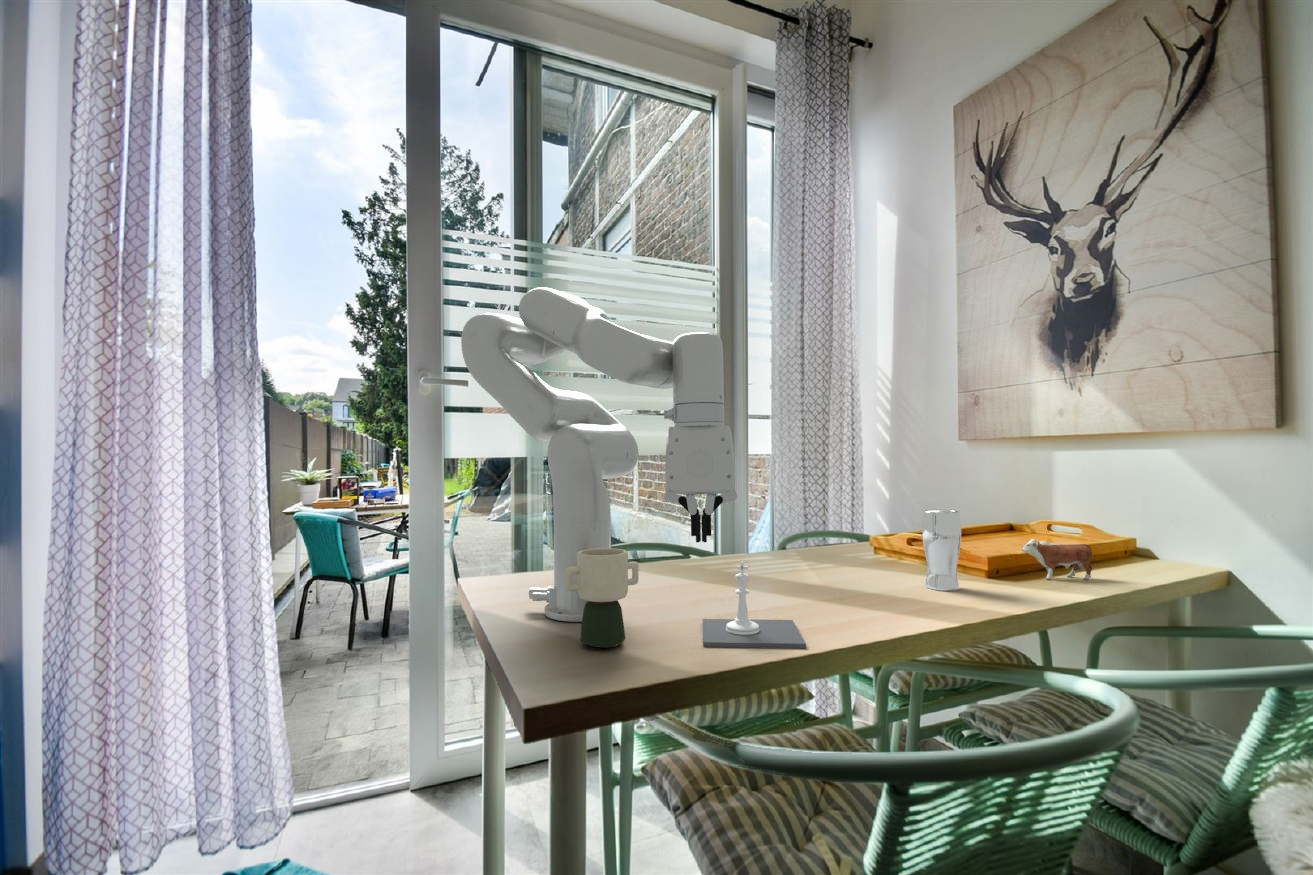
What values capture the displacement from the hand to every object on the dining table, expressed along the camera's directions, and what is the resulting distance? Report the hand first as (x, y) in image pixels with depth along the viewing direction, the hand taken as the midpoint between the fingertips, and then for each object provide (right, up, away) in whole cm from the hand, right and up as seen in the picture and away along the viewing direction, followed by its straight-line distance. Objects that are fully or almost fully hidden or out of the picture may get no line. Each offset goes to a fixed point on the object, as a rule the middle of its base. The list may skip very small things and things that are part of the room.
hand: (701, 540), depth 92 cm
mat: (+7, -14, -1) cm, 15 cm away
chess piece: (+6, -13, 0) cm, 15 cm away
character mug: (-14, -14, -5) cm, 21 cm away
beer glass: (+49, -14, +30) cm, 59 cm away
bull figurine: (+78, -14, +38) cm, 88 cm away
